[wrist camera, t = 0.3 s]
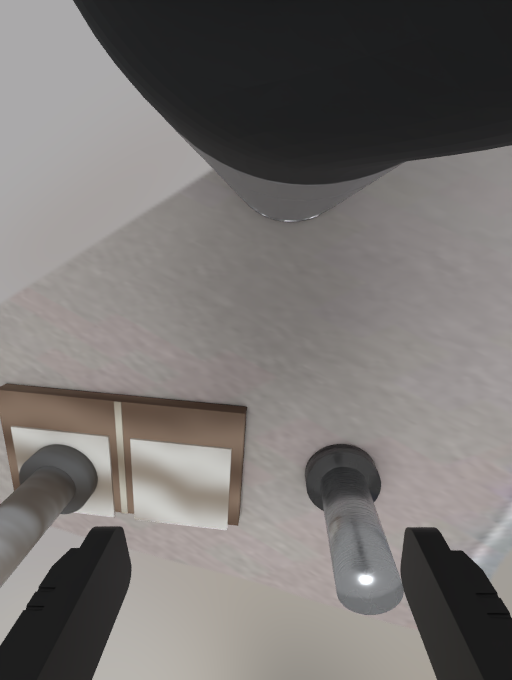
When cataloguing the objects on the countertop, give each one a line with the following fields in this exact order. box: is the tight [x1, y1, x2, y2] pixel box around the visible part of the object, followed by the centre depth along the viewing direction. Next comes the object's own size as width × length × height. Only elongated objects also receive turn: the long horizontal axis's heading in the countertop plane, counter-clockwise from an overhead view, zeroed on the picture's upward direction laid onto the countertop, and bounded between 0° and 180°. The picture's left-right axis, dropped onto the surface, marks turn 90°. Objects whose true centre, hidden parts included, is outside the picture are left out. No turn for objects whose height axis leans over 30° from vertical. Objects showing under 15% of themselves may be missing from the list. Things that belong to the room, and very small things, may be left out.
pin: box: [305, 444, 404, 615], centre depth 25 cm, size 6×6×10 cm
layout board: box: [0, 384, 247, 588], centre depth 25 cm, size 12×22×12 cm, turn 86°
